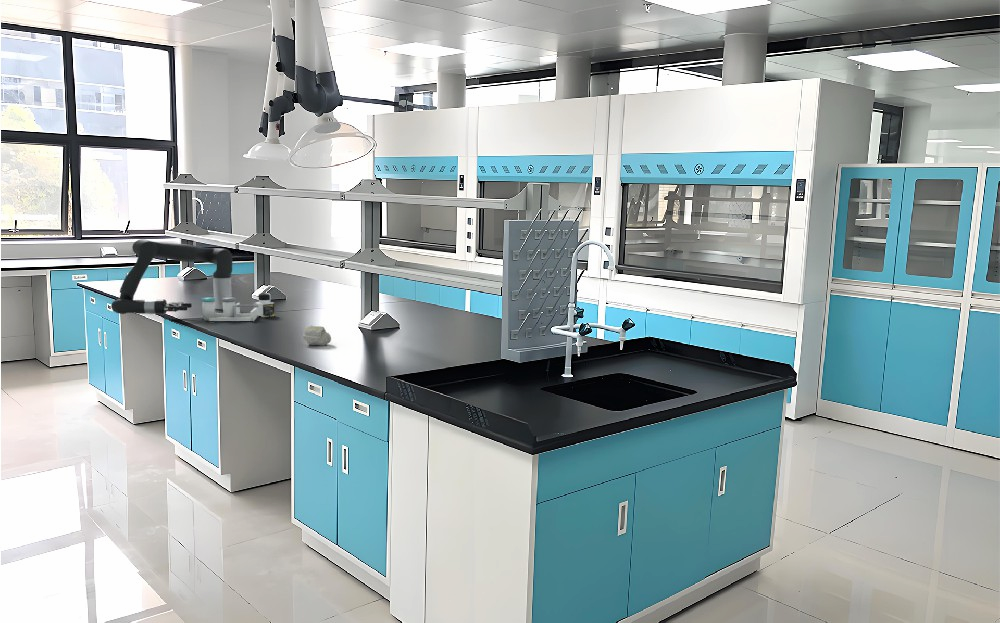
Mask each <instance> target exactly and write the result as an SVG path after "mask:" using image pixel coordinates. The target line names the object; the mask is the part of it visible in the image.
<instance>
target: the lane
mask: <svg viewBox="0 0 1000 623" xmlns="http://www.w3.org/2000/svg"><path fill="white" fill-rule="evenodd" d="M256 319H258V316H257V308H255V307H253V309H252V310H251V311H250V313H249V312H247V313H244V312H243V313H241V312H240V317H223V312H220V313H219V312H215V318H209V320H208V322H209V321H253V322H255V320H256Z"/></svg>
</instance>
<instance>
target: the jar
mask: <svg viewBox="0 0 1000 623" xmlns="http://www.w3.org/2000/svg"><path fill="white" fill-rule="evenodd" d="M201 302H202V306H201V308H202V320H203V319H204V320H203V321H209V318H216V317H215V313H216V309H215V298H214V296H213V297H212V296H211V297H201Z"/></svg>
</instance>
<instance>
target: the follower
mask: <svg viewBox="0 0 1000 623" xmlns="http://www.w3.org/2000/svg"><path fill="white" fill-rule="evenodd" d="M255 307H258V305H255V304H241V302H236V303H235V305H234V317H240V313H241V308H255Z"/></svg>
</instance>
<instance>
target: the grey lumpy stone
mask: <svg viewBox="0 0 1000 623" xmlns="http://www.w3.org/2000/svg"><path fill="white" fill-rule="evenodd" d="M302 339H303V340H304V341H305V342H306V343H307V344H308V345H309V346H319V347H323V346H326V345H329V344H331V342H332V336H331V334H330V332H328V331H327V330H326V329H325V327H324V326H318V325H317V326H315V325H310V326H307V327H305V328H304V330H303V333H302Z"/></svg>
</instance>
